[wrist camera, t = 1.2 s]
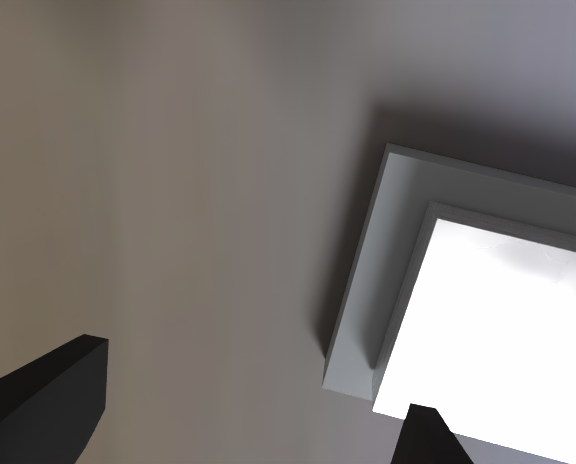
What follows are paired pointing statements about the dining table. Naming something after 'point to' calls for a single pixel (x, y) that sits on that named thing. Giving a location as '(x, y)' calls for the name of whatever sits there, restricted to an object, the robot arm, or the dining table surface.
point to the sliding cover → (486, 332)
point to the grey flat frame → (402, 238)
